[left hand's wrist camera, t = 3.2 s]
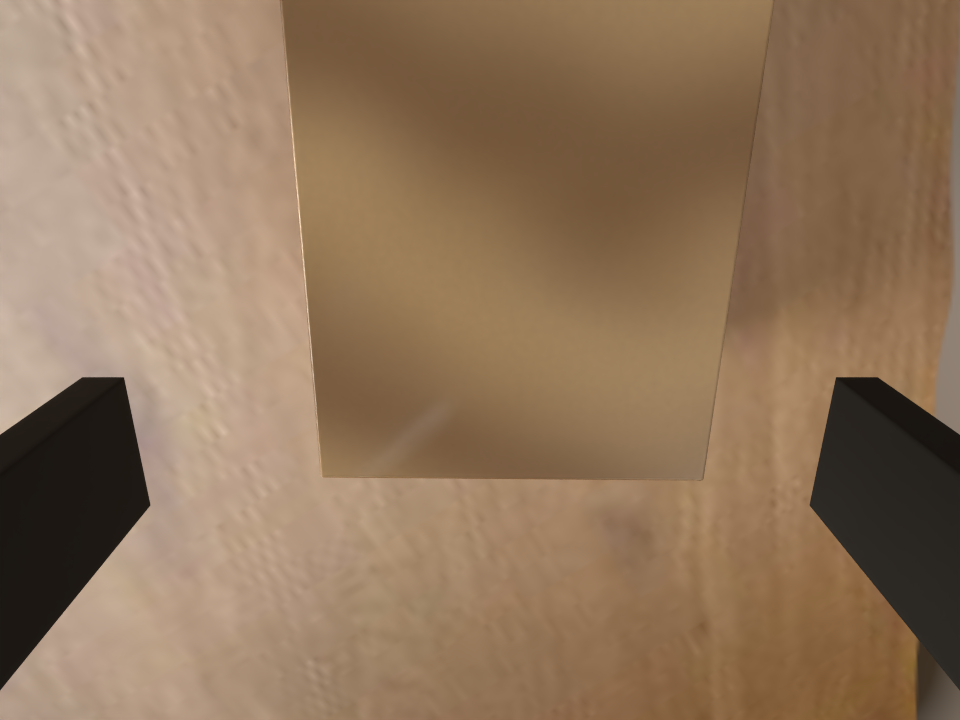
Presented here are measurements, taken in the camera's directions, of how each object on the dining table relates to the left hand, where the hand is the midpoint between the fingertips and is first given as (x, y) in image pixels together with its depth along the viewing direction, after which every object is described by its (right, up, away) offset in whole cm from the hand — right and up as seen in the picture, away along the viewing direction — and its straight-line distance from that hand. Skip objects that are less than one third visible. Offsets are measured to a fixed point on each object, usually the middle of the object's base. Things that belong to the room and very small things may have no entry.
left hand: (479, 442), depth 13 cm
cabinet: (+1, +12, +13) cm, 17 cm away
